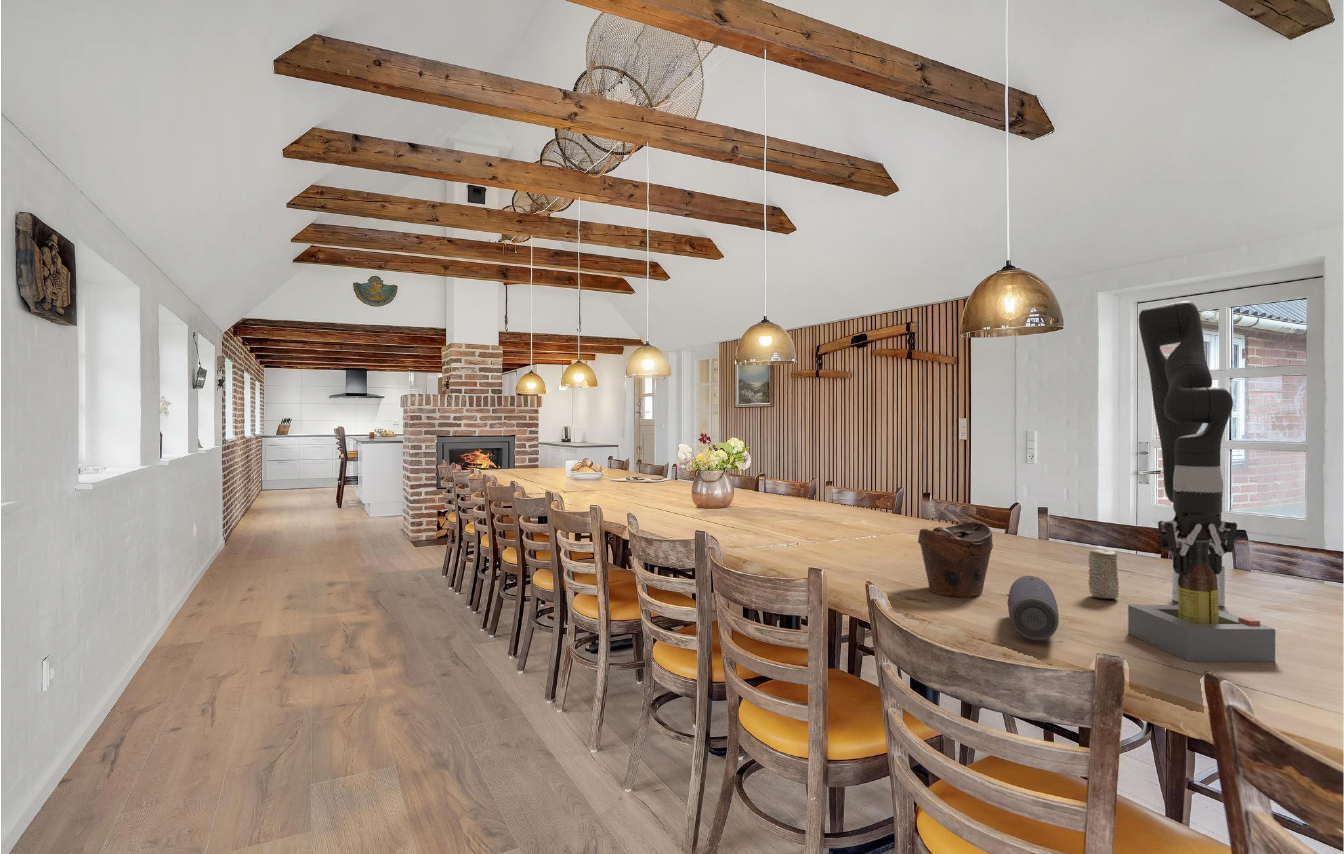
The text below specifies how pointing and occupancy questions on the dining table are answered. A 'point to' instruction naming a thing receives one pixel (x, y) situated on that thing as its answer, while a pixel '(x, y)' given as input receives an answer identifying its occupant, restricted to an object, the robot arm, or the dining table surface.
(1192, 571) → the sauce bottle
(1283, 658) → the dining table surface
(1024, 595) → the bluetooth speaker
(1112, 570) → the carving
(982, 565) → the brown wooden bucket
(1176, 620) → the bottle socket block
